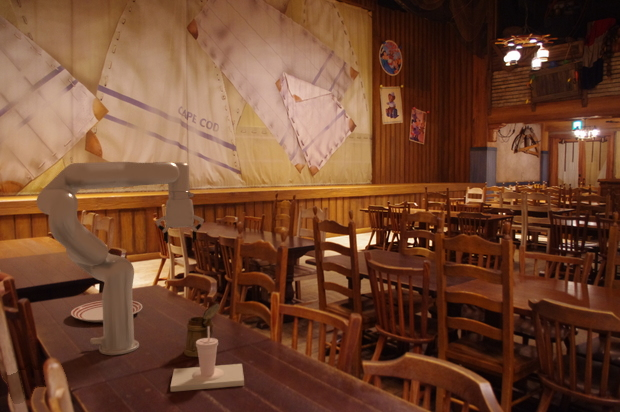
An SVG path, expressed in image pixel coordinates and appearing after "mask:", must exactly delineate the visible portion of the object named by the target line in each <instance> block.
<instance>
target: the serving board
mask: <svg viewBox="0 0 620 412" xmlns="http://www.w3.org/2000/svg"><path fill="white" fill-rule="evenodd" d="M241 386H243V387H244V386H245V377H244V369H243V363H233V364H221V365H220V364H219V365H215V370H214V375H212V376H208V377H204V376H202V375H201V371H200V366H195V367H183V368H174V369H173V373H172V378H171V383H170V392H184V391H193V390H194V391H195V390H205V389H207V390H208V389H219V388H228V387H229V388H230V387H241Z"/></svg>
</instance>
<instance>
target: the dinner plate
mask: <svg viewBox="0 0 620 412" xmlns="http://www.w3.org/2000/svg"><path fill="white" fill-rule="evenodd" d="M132 301H133V315H135V314H137V313H139V312H140V311H141V310H142V309H143V304H142V303H141V302H139V301H135V300H132ZM70 315H71V316H72V317H73V318H75V319H78V320H81V321H85V322H90V323H103V307H102V300H97V301H92V302H89V303H88V302H87V303H83V304H82V305H79V306H77V307H75V308H73V309H72V310H71V311H70Z"/></svg>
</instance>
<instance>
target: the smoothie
mask: <svg viewBox="0 0 620 412" xmlns="http://www.w3.org/2000/svg"><path fill="white" fill-rule="evenodd" d="M218 345H219V340H218V339H217V338H215V337H211V338H210V327H209V326H208V338H203V339H199V340H197V341H196V347H197V350H198V363H199V367H200V371H201V375H202V376H204V377H208V376H212V375H214V370H215V366H216V359H217V350H218Z"/></svg>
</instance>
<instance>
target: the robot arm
mask: <svg viewBox="0 0 620 412" xmlns="http://www.w3.org/2000/svg"><path fill="white" fill-rule="evenodd" d="M153 185H167V188H168V192H167V193H168V199H167V200H166V203H165V204H166V205H165V213H164V216H162V217H160V218H158V219H156V220H155V223H156V226H157V227H158V229H159V230H160V231H161V232H162V234H163V241H164V242H165V245H166V244H168V243H169V231H168V230H169V229H170V228H189V227H190V228H191V229H192V243H196V241H197V240H198V239H197V236H198V235H197V233H198V232H197V231H199V229H200V228H202V225H203V224H204V222H205V219H204V218H202V217H200V216H197V215H195V211H194V210H195V209H194V203H193V199H190V198H193V197H194V196H195V193H194V192H191V191H190V166H189V164H188V163H187V162H183V161H181V162H171V161H153V162H138V161H137V162H135V161H134V162H133V161H104V162H103V161H102V162H100V161H97V162H74V163H70V164H68V165H67V166H66V167H64V168H63V169H62V170H61V171H59V173H58V174H57V175H56V176H55V177H54V178H53V179H52V180H51V181H50V182H49V183H47V185H45V186H44V188H42V189H41V191H40V192H39V194H38V195H37V198H36V206H37V208H38V210H39V211H40V212H41V213H43V214H44V215H48V226H49V227H48V228H49V230H50V233H51V235H52V237H53V238H54V239H55V240H56V241H57V242H58V243H59V244H60V245H62V247H64V248H65V252H66V255H67V257H68V259H70V261H71V262H72V263H74V264H75V265H76V266H77V267H79V268H80V269H82V270H83V271H84V272H86V273H87V274H88V275H89V276H91V277H93V278H94V279H95V280H98V281H100V282H103V283H104V285H103V288H102V293H101V294H102V295H101V301H102V307H103V322H102V324H103V325H102V327H103V329H102V330H103V336H100V337H91V338H90V340H89V341H90V342H89V343H90V344H91V345H92V346H98V347H99V348H98V351H99V353H101V354H102V355H108V356H119V355H125V354H130V353H132V352H134V351H136V350H138V348H139V347H140V343H139V341H138V340H136V339H135V333H134V332H135V330H134V329H135V327H134V314H133V301H134V300H133V284H134V277H135V269H134V265H133V263H132V262H131V261H130V260H129V259H127V258H126V257H123V256H121V255H120V256H119V255H118V254H117V255H116V254H111V253H110V252H109V249H108V246H107V244H106V242H104V240H102V239H100V237H98V236H96V235H95V234H94V233H93V232H91V230H89V229H88V228H87V227H85V226H84V225H83V224H82V223H81V221H80V220H79V218H78V207H79V202H78V197H77V196H76V195H77V194H78V192H79V191H80V190H98V189H111V188H113V189H114V188H116V189H117V188H129V187H130V188H132V187H138V186H153ZM195 220H196V221H198V224H197V225H195ZM164 221H165V222H164ZM161 222H164V223H165V227H164V226H163V225H162V223H161Z"/></svg>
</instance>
